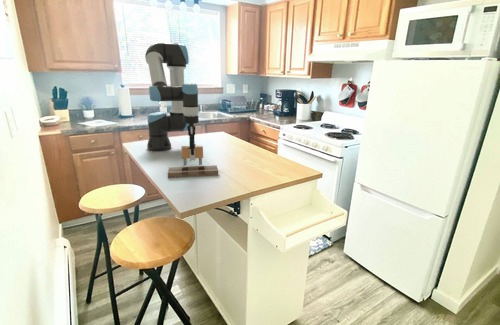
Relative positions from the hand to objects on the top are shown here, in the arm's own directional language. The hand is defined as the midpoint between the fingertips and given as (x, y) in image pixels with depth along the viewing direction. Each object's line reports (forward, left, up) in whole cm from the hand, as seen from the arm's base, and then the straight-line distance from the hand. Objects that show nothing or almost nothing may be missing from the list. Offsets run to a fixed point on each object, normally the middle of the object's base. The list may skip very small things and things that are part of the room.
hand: (192, 159), depth 143 cm
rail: (+11, 0, -4) cm, 12 cm away
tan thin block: (0, 0, -3) cm, 3 cm away
